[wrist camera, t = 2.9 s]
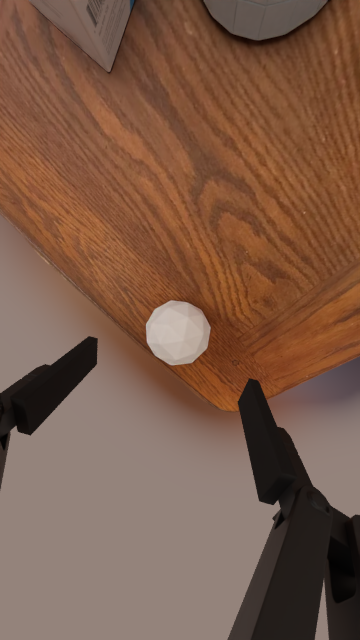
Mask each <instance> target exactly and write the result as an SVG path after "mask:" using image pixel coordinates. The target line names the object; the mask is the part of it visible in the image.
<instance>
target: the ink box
mask: <svg viewBox="0 0 360 640" xmlns="http://www.w3.org/2000/svg"><path fill="white" fill-rule="evenodd" d="M29 1H30V2H31V3H32V4H33V5H34V6H35V7H36V8H37V9H38V10H39V11H40V12H41V13H42V14H43V15H44V16H45V17H46V18H47V19H48V20H50V21H51V22H52V23H53V24H54V25H55V26H56V27H57V28H58V29H59V30H60V31H62V32H63V33H64V34H65V35H66V36H67V37H68V38H70V39H71V40H72V41H73V42H74V43H75V44H76V45H77V46H79V47H80V48H81V49H82V50H83V51H84V52H86V53H87V54H88V55H89V56H90V57H91V58H92V59H93V60H95V61H96V62H97V63H98V64H99V65H100V66H101V67H103V68H104V69H105V70H106V71H107V72H110V71H111V68H112V65H113V62H114V59H115V56H116V53H117V50H118V47H119V45H120V42H121V39H122V35H123V33H124V30H125V27H126V24H127V21H128V18H129V15H130V12H131V9H132V6H133V3H134V0H29Z"/></svg>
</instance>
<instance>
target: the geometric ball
mask: <svg viewBox="0 0 360 640" xmlns="http://www.w3.org/2000/svg"><path fill="white" fill-rule="evenodd" d="M210 329H211V327H210V325H209V323H208V321H207V319H206V317H205V315H204V314H203V312H202V310H201V309H199V308H197V307H195V306H193V305H191V304H189V303H187V302H181V301H173V300H171V301H169V302H167V303H165V304H163V305H162V306H160V307H158V308H156V309H155V310H154V312H153V313H152V315H151V317H150V318H149V320H148V322H147V324H146V336H147V343H148V345H149V347H150V348H151V350H152V352H153V353H154V355H155V356H157V357H158V358H160V359H161V360H163V361H165V362H166V363H168V364H170V365H179V364H188V363H192V362H193V361H194V360H195V359H196V358H198V357H199V356H200V355H201V354H202V353H203V352H204V351H205V350H206V349H207V347H208V341H209V335H210Z"/></svg>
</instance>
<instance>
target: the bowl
mask: <svg viewBox="0 0 360 640" xmlns="http://www.w3.org/2000/svg"><path fill="white" fill-rule="evenodd" d="M203 1H204V3H205V4H206V6H207V8H208V10H209V12H210V14H211V15H212V17H213V18H214V19H216V20H217V21H218V22H219V23H220V24H221V25H222V26H223V27H225V28H226V29H227V30H228V31H229V32H230V33H231V34H234V35H237V36H241V37H245V38H249V39H253V40H257V39H258V41H259V40H264V39H268V38H273V37H277V36H282V35H285V34H287V33H288V32H290V31H291V30H293V29H295V28H296V27H298V26H299V25H301V24H302V23H304V22H305V21H307V20H308V19H310V18H311V17H313V16H314V15H315V14H316V13H317V12H318V11H319V10H320V9H321V8H322V7H323V6H324V4H325V3H326V2H327V1H328V0H203Z"/></svg>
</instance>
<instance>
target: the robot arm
mask: <svg viewBox="0 0 360 640" xmlns="http://www.w3.org/2000/svg"><path fill="white" fill-rule="evenodd" d="M97 340H98V339H97V338H94V337H90V336H89V337H87V338H86V339H85V340H84V341H82V342H81V343H80V344H78V345H77V346H76V347H74V348H73V349H72V350H70V351H69V352H68V353H66V354H65V355H64V356H62V357H61V358H60V359H58V360H57V361H56V362H55V363H53V364H52V365H51V366H50V365H46V364H45V365H42V366H40V367H37V368H36V369H34V370H33V371H31V372H30V373H28V375H26V376H24V377H23V378H22V379H20V380H18V381H17V382H16V383H14V384H13V385H11V386H10V387H9V388H7V389H6V390H5V391H3V392H2V393H0V489H1V483H2V478H3V472H4V467H5V462H6V456H7V450H8V446H9V440H10V430H11V429H13V428H14V427H15V426H17V430H18V432H20V433H24V434H28V435H31V434H32V433H33V432H34V431H35V430H36V429H37V428H38V427H39V426H40V425H41V424H42V423H43V422H44V420H45V419H46V418H47V417H48V416H49V415H50V414H51V413H52V412H53V411H54V410H55V408H57V406H58V405H59V404H60V403H61V402H62V401H63V400H64V399H65V398H66V397H67V396H68V395H69V393H70V392H71V391H72V390H73V389H74V388H75V387H76V386H77V385H78V384H79V383H80V382H81V381H82V380H83V378H84V377H85V376H86V375H87V374H88V373H89V372H90V371H91V370H92V369H93V368H94V367H95V366H96V364H97ZM238 405H239V410H240V415H241V419H242V424H243V429H244V433H245V438H246V442H247V447H248V451H249V456H250V461H251V466H252V470H253V475H254V480H255V484H256V489H257V494H258V498H259V501H261V502H264V503H267V504H271V505H274V504H275V503H276V501H277V500H278V501H279V504H280V508H281V509H280V510H279V511H278V513H277V514H276V515H275V516H274V517H273V520H274V521H275V522H274V524H273V527H272V529H271V532H270V534H269V537H268V539H267V542H266V544H265V547H264V549H263V552H262V554H261V557H260V559H259V562H258V565H257V567H256V569H255V572H254V574H253V577H252V580H251V582H250V585H249V587H248V590H247V592H246V595H245V597H244V600H243V602H242V605H241V607H240V610H239V612H238V615H237V617H236V620H235V622H234V625H233V627H232V630H231V633H230V635H229V637H228V640H315V632H316V626H317V620H318V613H319V607H320V600H321V593H322V587H323V580H324V582H325V595H326V607H327V620H328V632H329V640H360V515H354V516H353V517H352V518H349V517H348V516H346V515H345V514H343V513H341V512H340V511H338V510H337V509H335V508H333V507H332V506H331V505H330V504H329V503H328V501H327V499H326V498H325V497H324V495H323V494H322V493H321V492H320V491H319V490H318V489H316V488H315V487H313V485H312V483H311V481H310V478H309V476H308V474H307V472H306V470H305V467H304V465H303V463H302V461H301V459H300V456H299V455H298V452H297V450H296V448H295V446H294V443H293V441H292V439H291V437H290V435H289V434H288V433H287V432H286V431H285V429H284V428H280V427H277V425H276V423H275V421H274V418H273V416H272V413H271V410H270V408H269V406H268V403H267V401H266V398H265V396H264V393H263V391H262V388H261V386H260V383H259V381H257V380H254V379H250V378H249V380H248V382H247V384H246V386H245V388H244V390H243V392H242V394H241V397H240V399H239V401H238Z"/></svg>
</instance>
